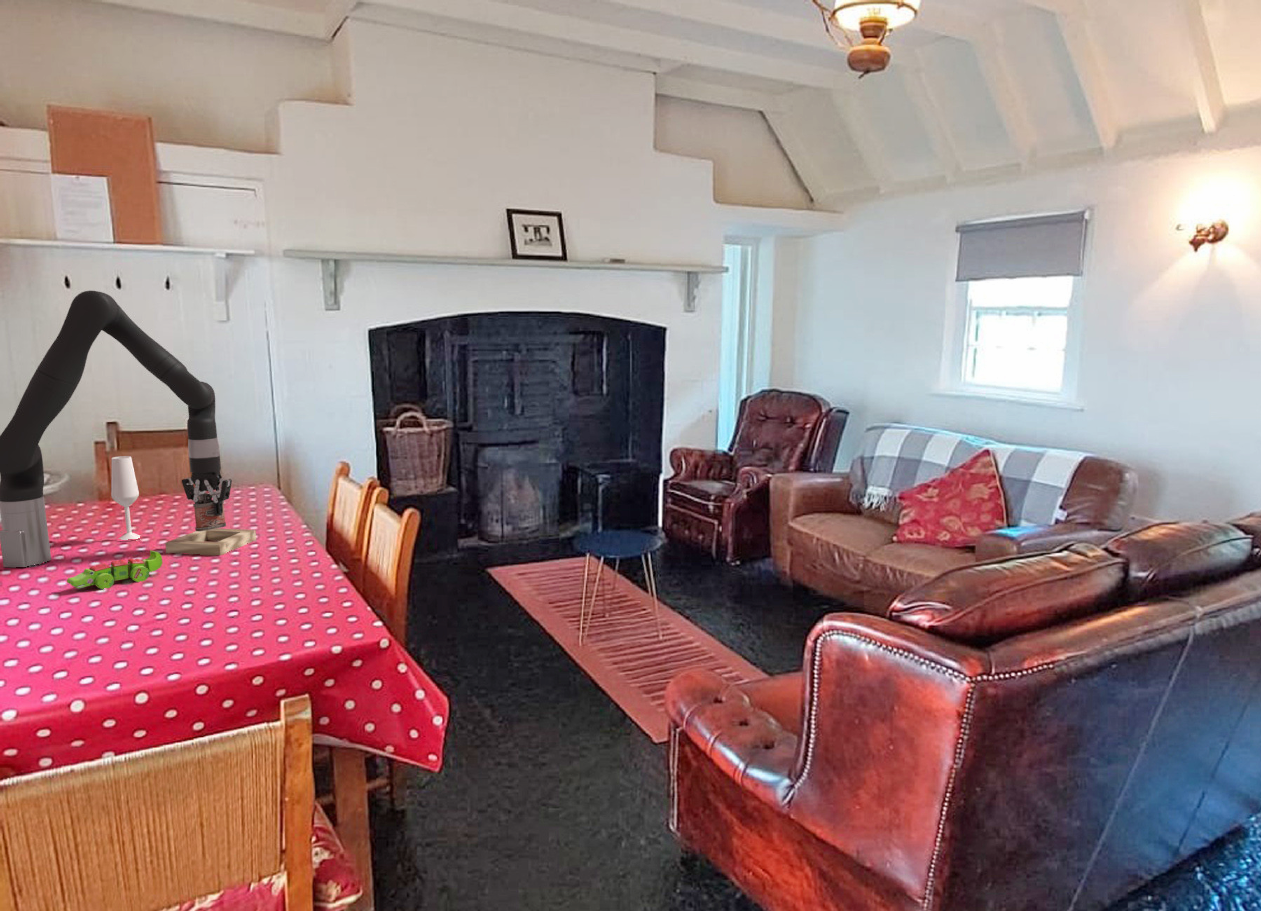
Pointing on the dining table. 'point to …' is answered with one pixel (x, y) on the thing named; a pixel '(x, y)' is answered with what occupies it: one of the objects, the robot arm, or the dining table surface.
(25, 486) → the robot arm
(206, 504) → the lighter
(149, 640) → the dining table surface
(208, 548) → the square beige frame
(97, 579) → the toy crocodile
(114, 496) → the champagne flute
